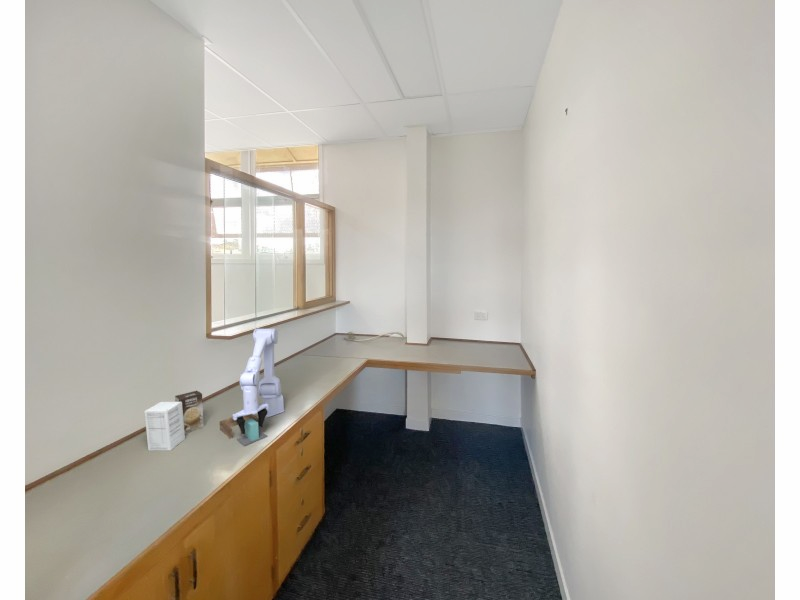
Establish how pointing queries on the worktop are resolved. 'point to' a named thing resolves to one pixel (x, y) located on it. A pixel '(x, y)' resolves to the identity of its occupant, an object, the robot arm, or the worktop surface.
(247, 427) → the teal blank
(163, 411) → the supplement box
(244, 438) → the charcoal mat
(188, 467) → the worktop surface
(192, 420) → the coffee box
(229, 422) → the walnut cubby
